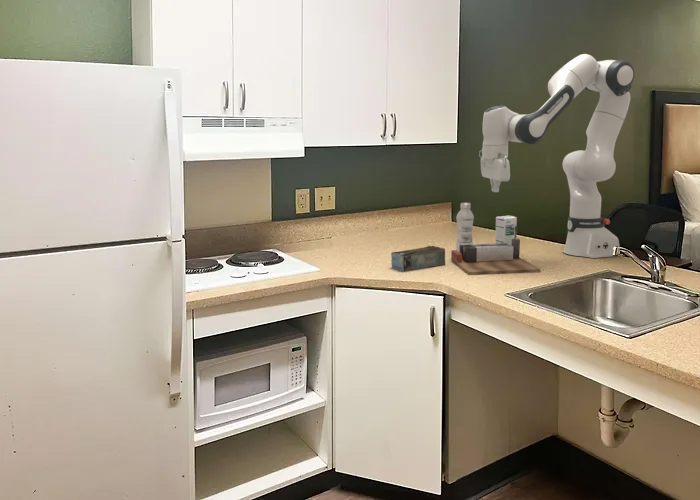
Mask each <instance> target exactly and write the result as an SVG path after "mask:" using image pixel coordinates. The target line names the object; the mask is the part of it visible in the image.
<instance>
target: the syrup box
mask: <svg viewBox="0 0 700 500" xmlns="http://www.w3.org/2000/svg"><path fill="white" fill-rule="evenodd" d="M517 220H518V219H517V216H515V215H502V216H496V217H495V242H494V244H498V243H507V244H509V245H511V243H512V239H517V225H518V224H517V223H518V221H517Z"/></svg>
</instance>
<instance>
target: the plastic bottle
mask: <svg viewBox="0 0 700 500" xmlns="http://www.w3.org/2000/svg"><path fill="white" fill-rule="evenodd" d="M459 206H460V207H459V208H460V210H459V211H458V213H457V214H456V218H455V219H456V224H457V225H456V226H457V240H456V243H455V244H456V245H455V250H457V251H458V252H459V247H460V245H465V244H470V245H471V244H474V242H473V224H474V218H475V217H474V214H473V212H472V210H471V202H461V203H460V205H459Z"/></svg>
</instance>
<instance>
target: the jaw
mask: <svg viewBox="0 0 700 500" xmlns="http://www.w3.org/2000/svg"><path fill="white" fill-rule="evenodd" d="M499 260H513V246H512V245H501V246H477V247H474V246H472V247H463V261H465V262H477V261H499Z"/></svg>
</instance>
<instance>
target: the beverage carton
mask: <svg viewBox="0 0 700 500" xmlns="http://www.w3.org/2000/svg"><path fill="white" fill-rule="evenodd" d="M390 254H391V255H390V256H391V269H395V270H397V271H400V272H403V273H405V272H410V271H417V270H422V269H423V270H424V269H428V268H434V267H438V266H439V267H440V266H444V265H446V248H444V247H440V246H435V245H428V246H424V247H418V248H413V249H406V250H405V249H404V250H401V251H392V252H391V253H390Z"/></svg>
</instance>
